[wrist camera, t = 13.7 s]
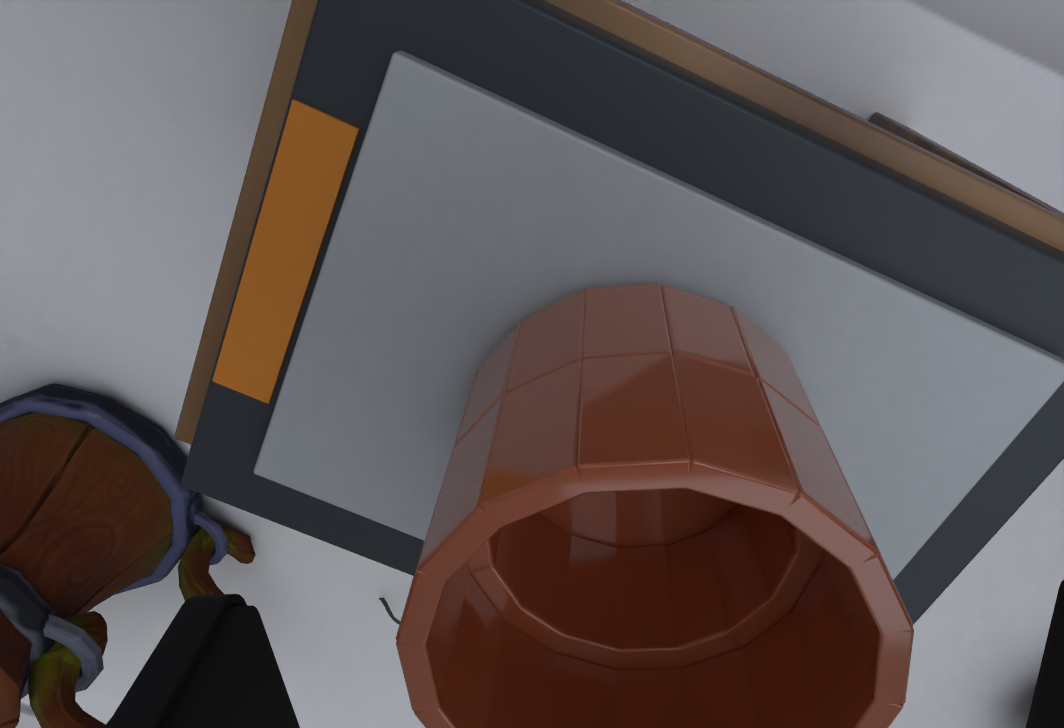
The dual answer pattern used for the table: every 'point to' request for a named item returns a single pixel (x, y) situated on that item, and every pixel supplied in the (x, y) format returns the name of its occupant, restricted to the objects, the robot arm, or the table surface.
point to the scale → (605, 278)
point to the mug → (87, 539)
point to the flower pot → (648, 537)
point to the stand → (608, 12)
